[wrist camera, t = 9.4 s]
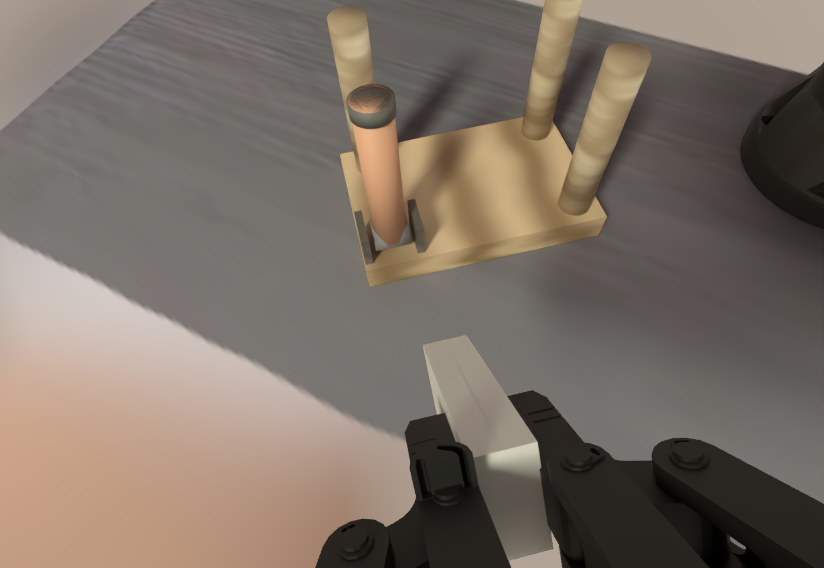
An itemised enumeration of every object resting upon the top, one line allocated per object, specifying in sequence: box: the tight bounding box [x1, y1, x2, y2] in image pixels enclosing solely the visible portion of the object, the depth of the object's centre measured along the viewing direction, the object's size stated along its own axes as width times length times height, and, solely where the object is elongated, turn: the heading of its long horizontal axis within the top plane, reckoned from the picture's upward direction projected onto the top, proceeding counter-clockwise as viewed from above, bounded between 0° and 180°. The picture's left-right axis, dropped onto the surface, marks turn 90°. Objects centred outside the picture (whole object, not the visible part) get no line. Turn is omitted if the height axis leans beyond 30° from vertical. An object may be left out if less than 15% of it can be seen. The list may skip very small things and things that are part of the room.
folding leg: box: [346, 84, 411, 251], centre depth 34 cm, size 3×3×13 cm
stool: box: [327, 0, 651, 287], centre depth 38 cm, size 20×13×16 cm, turn 103°
